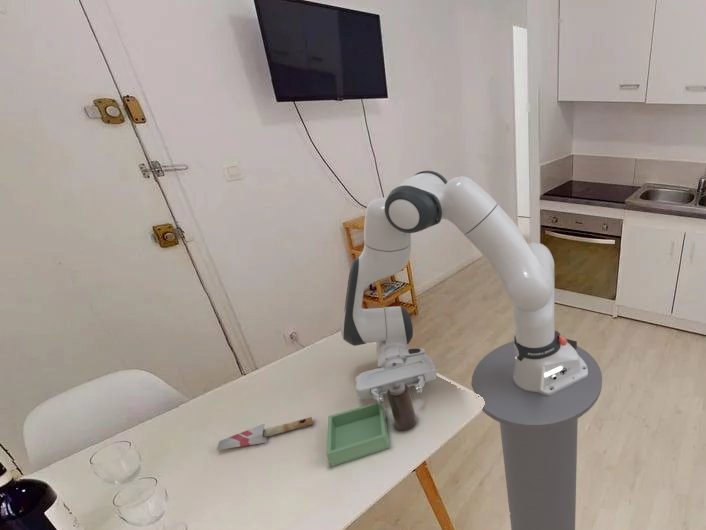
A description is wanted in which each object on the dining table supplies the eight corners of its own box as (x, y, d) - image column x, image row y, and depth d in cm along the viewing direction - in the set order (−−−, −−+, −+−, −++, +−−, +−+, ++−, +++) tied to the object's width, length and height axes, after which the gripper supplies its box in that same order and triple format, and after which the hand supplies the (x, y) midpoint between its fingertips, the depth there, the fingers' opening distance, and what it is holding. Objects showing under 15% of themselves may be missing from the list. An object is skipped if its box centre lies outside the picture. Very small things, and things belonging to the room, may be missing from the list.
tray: (385, 412, 107) (381, 400, 105) (389, 447, 97) (385, 435, 95) (332, 427, 103) (328, 416, 101) (331, 466, 93) (326, 454, 91)
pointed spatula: (217, 435, 97) (311, 411, 105) (221, 443, 99) (313, 419, 106) (213, 447, 94) (310, 422, 102) (217, 455, 96) (312, 430, 103)
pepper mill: (415, 413, 106) (405, 373, 100) (417, 426, 102) (407, 386, 96) (395, 419, 105) (383, 379, 98) (397, 433, 101) (385, 392, 94)
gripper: (352, 366, 109) (352, 399, 98) (429, 346, 116) (438, 375, 105) (358, 384, 112) (359, 418, 101) (432, 363, 119) (441, 394, 108)
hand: (400, 396), depth 103 cm, fingers open, 8 cm apart
